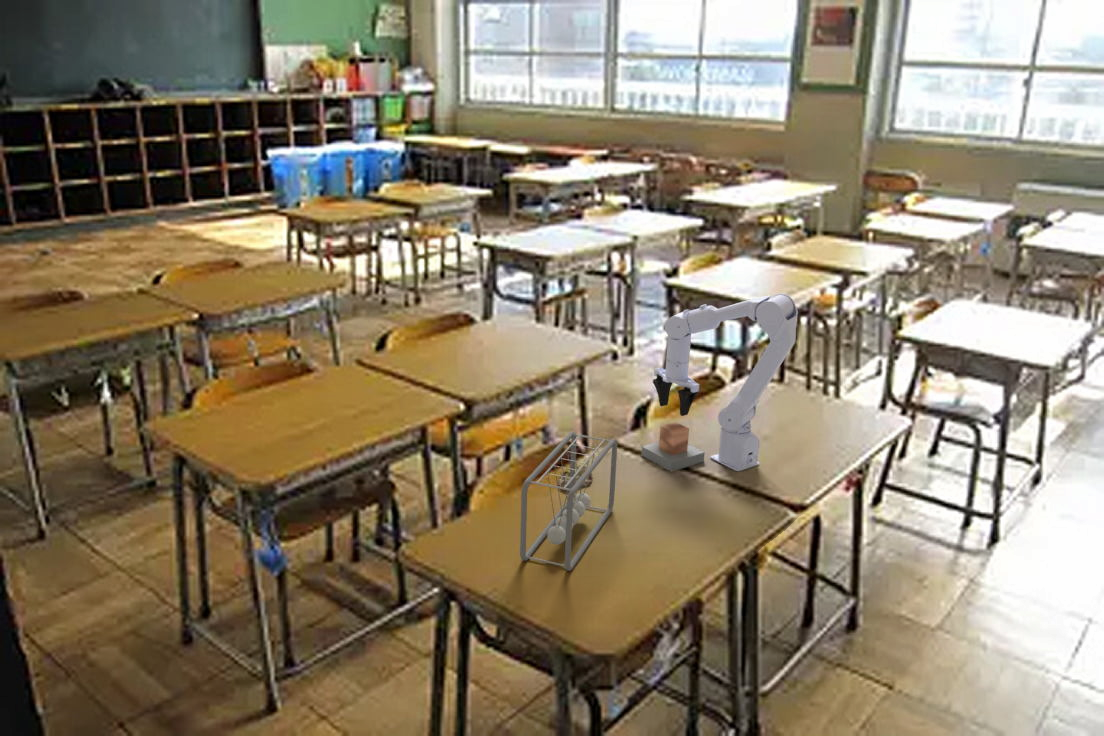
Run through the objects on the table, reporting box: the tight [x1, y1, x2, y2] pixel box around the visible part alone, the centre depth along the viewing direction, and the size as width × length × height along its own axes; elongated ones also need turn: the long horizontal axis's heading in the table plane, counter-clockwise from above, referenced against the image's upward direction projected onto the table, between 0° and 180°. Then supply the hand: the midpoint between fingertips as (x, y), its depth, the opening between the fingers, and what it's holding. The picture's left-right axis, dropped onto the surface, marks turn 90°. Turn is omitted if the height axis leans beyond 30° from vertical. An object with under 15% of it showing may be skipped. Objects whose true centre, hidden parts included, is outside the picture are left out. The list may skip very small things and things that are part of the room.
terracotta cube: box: [658, 421, 690, 455], centre depth 231 cm, size 5×5×6 cm
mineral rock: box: [557, 465, 594, 489], centre depth 219 cm, size 11×4×8 cm
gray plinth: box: [641, 441, 705, 472], centre depth 232 cm, size 11×11×2 cm
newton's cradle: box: [519, 430, 618, 572], centre depth 192 cm, size 30×10×18 cm, turn 159°
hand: (673, 410), depth 238 cm, fingers open, 7 cm apart
